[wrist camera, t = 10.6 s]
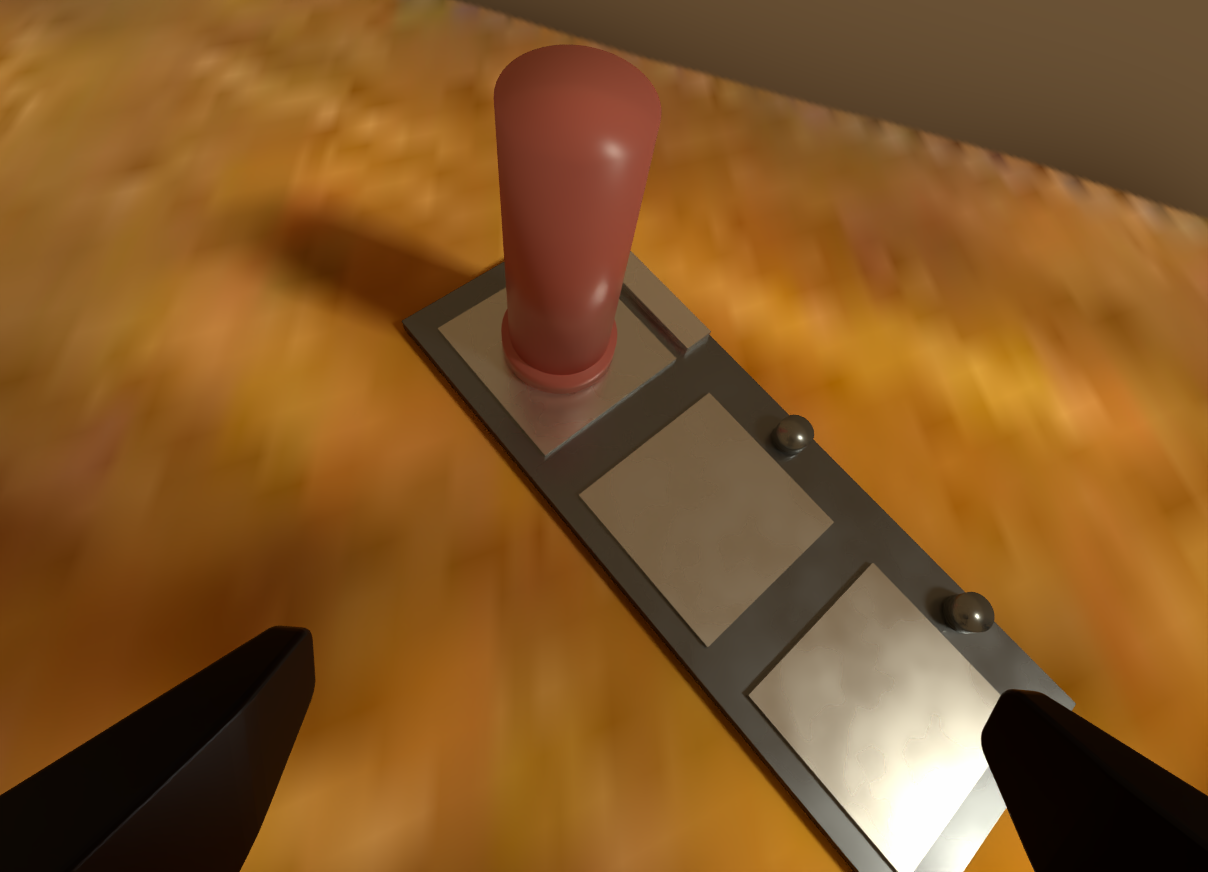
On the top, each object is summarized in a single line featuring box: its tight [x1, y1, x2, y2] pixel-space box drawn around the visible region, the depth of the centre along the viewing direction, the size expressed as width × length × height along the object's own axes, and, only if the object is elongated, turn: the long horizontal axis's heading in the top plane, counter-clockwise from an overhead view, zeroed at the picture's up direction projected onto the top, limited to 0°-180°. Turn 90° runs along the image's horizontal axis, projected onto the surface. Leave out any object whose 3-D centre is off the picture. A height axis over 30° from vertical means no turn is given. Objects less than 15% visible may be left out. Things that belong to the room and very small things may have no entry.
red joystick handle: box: [494, 45, 661, 394], centre depth 19 cm, size 5×5×11 cm
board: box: [402, 251, 1076, 872], centre depth 22 cm, size 10×28×1 cm, turn 41°
